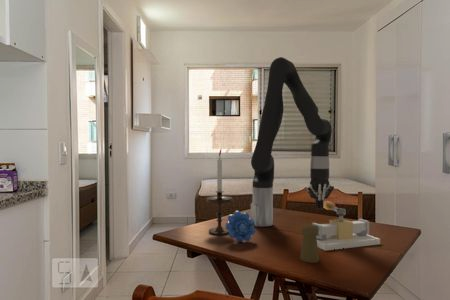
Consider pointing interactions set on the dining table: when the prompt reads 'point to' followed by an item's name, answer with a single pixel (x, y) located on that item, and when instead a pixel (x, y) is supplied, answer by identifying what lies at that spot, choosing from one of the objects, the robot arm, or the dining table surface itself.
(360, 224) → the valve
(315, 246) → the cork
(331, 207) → the lever
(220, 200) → the candlestick
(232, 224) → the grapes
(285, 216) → the dining table surface
